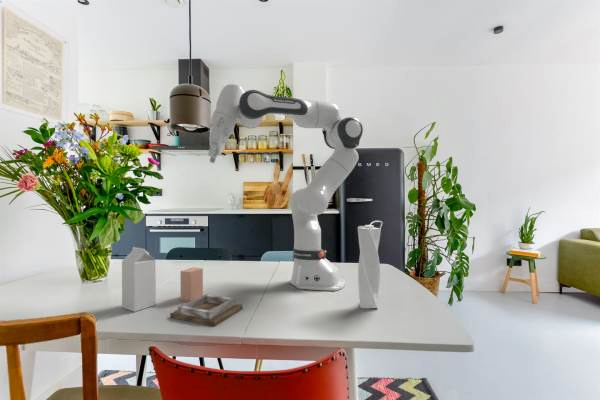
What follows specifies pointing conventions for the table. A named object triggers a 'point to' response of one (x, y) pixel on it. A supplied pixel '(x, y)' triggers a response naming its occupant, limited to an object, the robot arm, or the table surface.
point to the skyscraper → (369, 265)
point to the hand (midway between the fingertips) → (211, 159)
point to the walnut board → (207, 310)
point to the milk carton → (138, 280)
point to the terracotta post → (191, 283)
